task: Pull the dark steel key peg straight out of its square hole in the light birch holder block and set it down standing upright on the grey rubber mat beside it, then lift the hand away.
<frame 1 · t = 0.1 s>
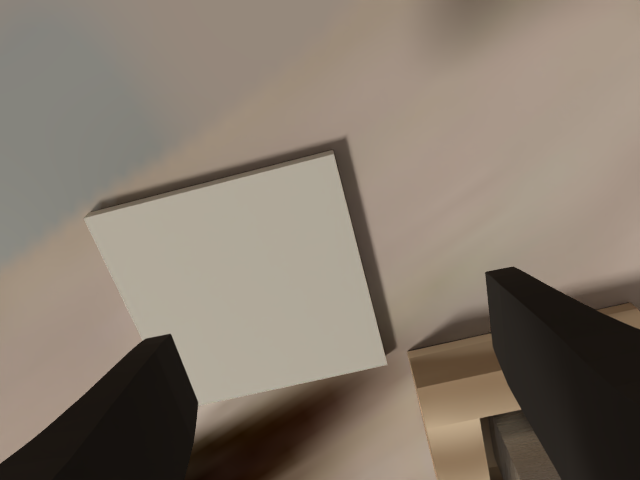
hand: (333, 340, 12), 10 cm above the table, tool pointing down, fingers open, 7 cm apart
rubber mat: (247, 289, 23), on the table
key peg: (531, 418, 26), resting on holder block
holder block: (527, 411, 26), on the table
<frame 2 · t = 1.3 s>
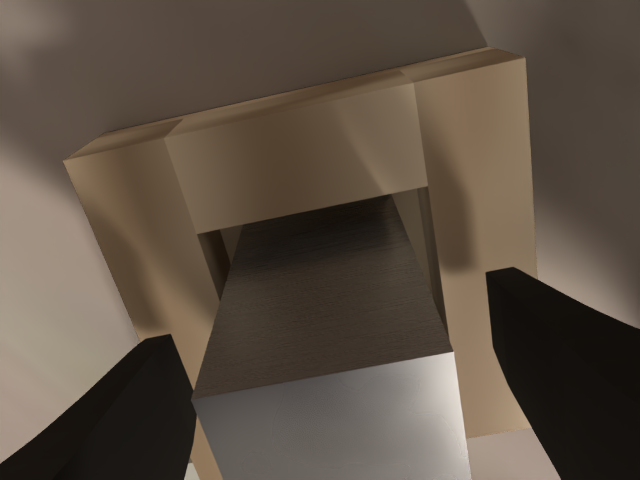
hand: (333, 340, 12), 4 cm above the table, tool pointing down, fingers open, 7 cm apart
key peg: (331, 271, 15), resting on holder block
holder block: (331, 263, 16), on the table
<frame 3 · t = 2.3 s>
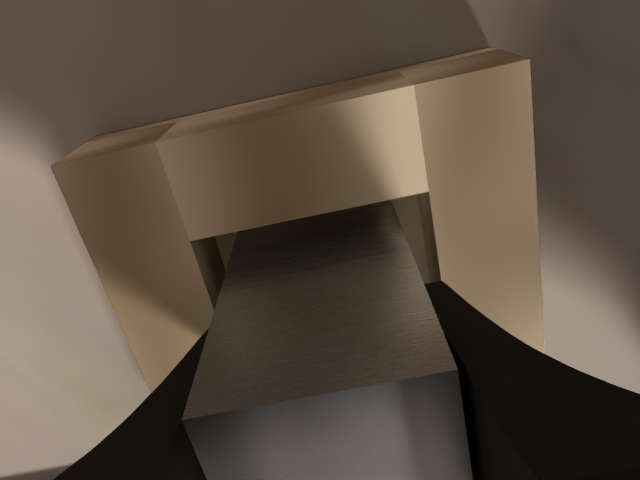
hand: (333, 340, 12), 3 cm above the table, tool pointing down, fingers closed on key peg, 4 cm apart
key peg: (329, 278, 15), resting on holder block, touching gripper
holder block: (328, 269, 15), on the table
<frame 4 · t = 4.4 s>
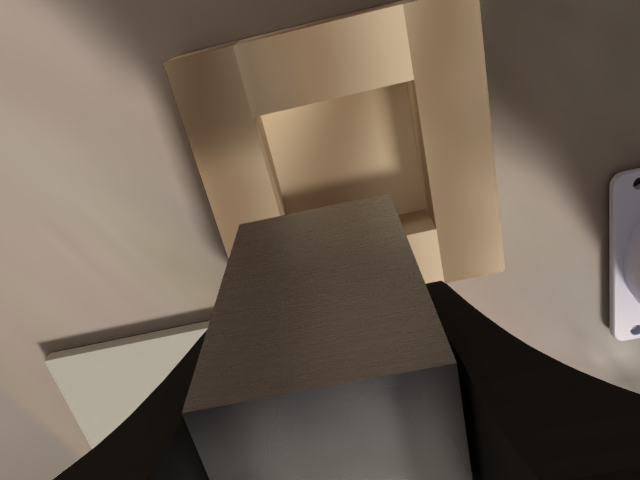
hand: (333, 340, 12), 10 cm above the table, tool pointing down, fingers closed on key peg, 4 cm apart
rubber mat: (189, 415, 26), on the table
key peg: (329, 275, 15), point 7 cm above the table, touching gripper
holder block: (344, 156, 21), on the table
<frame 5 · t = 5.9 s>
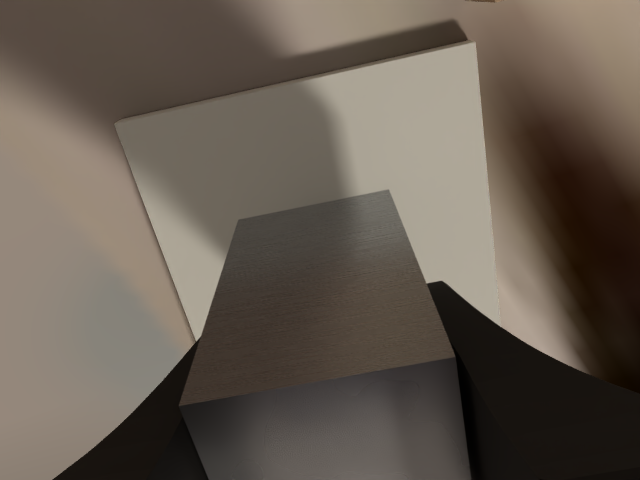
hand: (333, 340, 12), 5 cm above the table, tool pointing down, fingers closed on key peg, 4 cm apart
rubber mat: (327, 239, 17), on the table
key peg: (328, 271, 15), point 2 cm above the table, touching gripper
when the fingers open (5 cm above the table, at t = 6.8 s): key peg drops 1 cm, resting on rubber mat.
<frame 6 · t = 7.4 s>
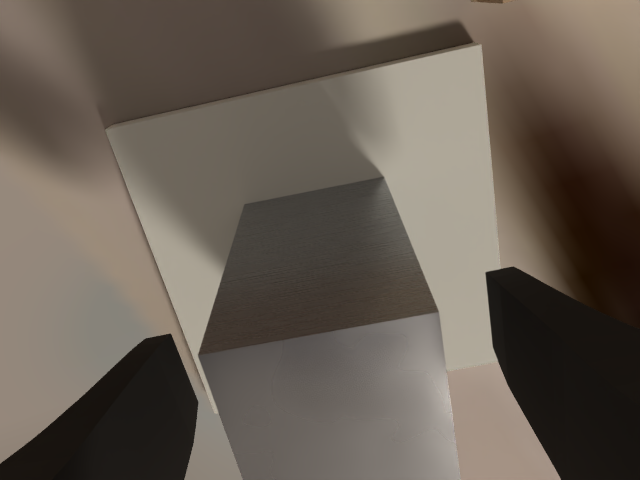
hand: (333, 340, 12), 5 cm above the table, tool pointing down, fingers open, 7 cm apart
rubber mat: (327, 248, 17), on the table
key peg: (327, 253, 16), point 1 cm above the table, touching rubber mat
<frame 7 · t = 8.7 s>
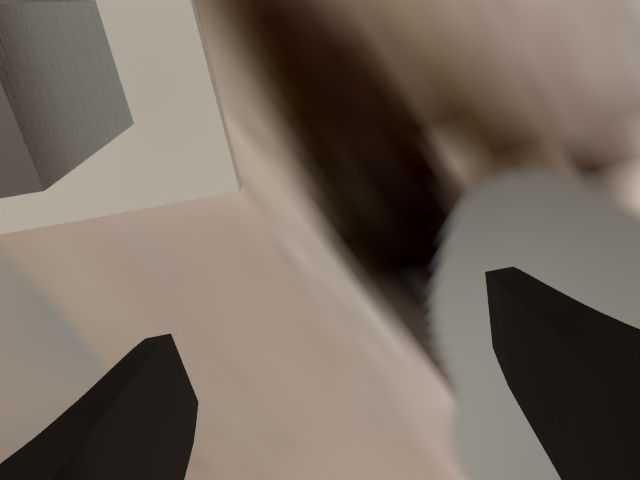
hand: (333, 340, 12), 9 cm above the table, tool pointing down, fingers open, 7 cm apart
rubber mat: (66, 76, 19), on the table
key peg: (58, 75, 18), point 1 cm above the table, touching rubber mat
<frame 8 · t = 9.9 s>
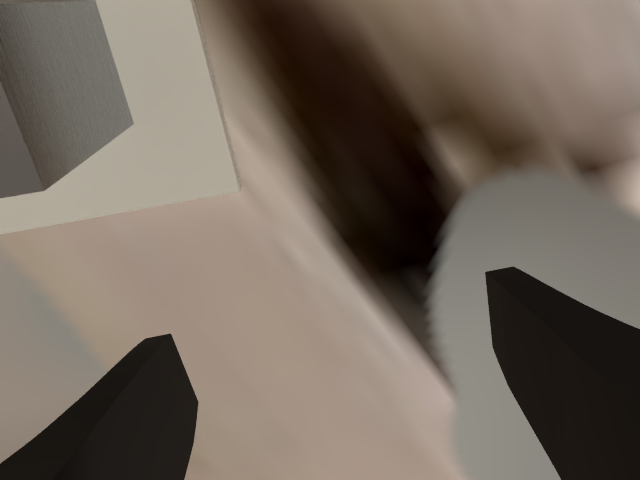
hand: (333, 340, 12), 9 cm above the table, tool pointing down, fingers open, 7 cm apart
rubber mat: (66, 76, 19), on the table
key peg: (58, 75, 18), point 1 cm above the table, touching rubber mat
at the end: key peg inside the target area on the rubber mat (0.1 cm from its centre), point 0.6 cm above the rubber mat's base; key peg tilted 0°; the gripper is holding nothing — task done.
